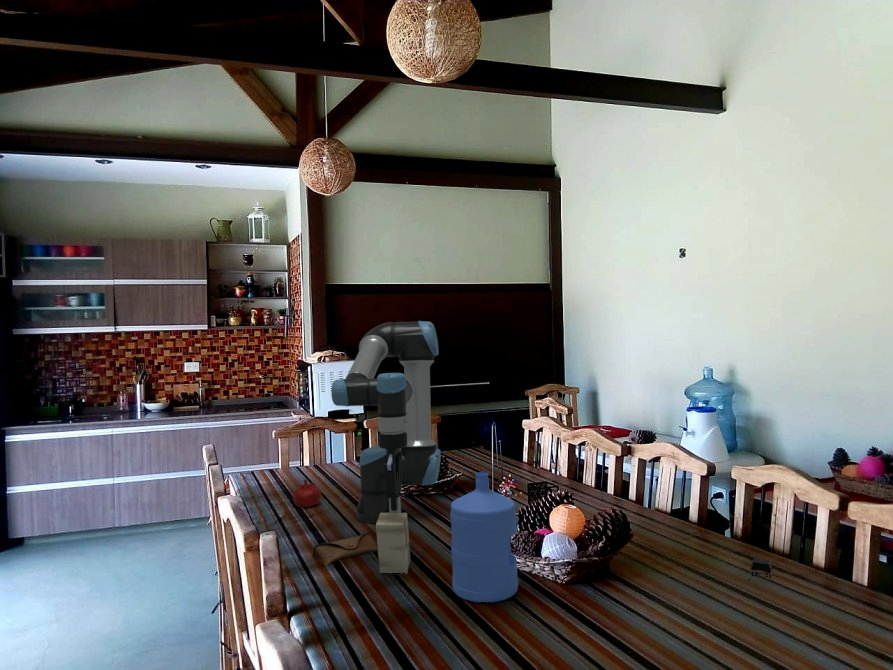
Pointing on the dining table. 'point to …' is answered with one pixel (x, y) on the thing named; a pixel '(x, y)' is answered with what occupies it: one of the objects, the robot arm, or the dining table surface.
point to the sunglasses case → (344, 548)
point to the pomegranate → (307, 495)
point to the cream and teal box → (393, 543)
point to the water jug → (483, 544)
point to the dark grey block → (761, 567)
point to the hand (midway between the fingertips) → (395, 521)
